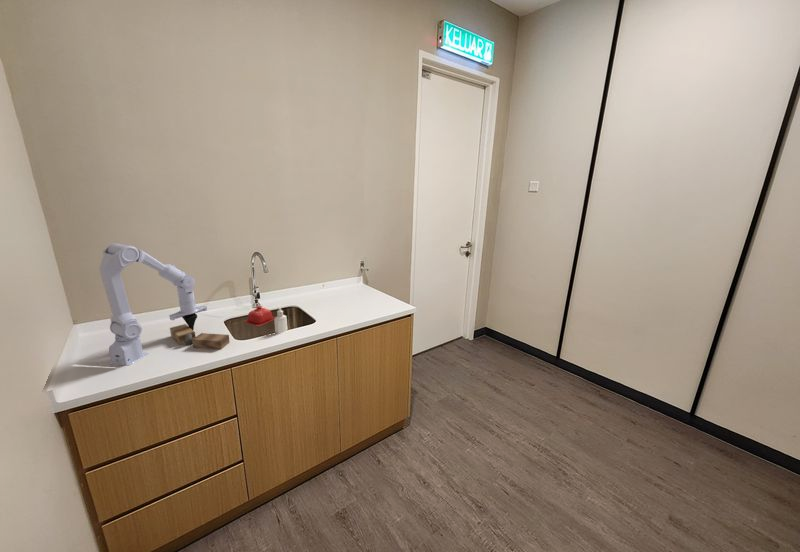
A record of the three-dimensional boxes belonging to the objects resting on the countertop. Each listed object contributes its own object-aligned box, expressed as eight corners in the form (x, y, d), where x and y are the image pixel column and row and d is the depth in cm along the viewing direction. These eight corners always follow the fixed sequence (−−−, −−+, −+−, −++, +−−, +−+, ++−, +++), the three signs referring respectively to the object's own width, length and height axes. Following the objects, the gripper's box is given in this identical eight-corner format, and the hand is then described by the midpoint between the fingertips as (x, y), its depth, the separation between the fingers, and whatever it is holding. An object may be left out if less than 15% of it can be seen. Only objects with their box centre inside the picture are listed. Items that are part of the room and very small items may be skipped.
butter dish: (242, 323, 163) (240, 307, 161) (262, 316, 173) (260, 300, 171) (258, 328, 158) (257, 311, 156) (277, 320, 168) (276, 304, 165)
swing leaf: (198, 342, 142) (197, 333, 140) (182, 347, 137) (180, 337, 136) (186, 332, 151) (185, 323, 150) (171, 336, 147) (169, 327, 146)
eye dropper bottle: (288, 333, 153) (287, 308, 150) (276, 335, 150) (274, 310, 147) (286, 329, 157) (285, 305, 154) (274, 332, 154) (272, 307, 151)
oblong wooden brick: (229, 343, 142) (228, 334, 141) (221, 350, 136) (220, 341, 135) (202, 341, 143) (201, 333, 142) (193, 348, 137) (192, 339, 136)
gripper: (199, 295, 153) (203, 322, 156) (164, 303, 141) (169, 333, 145) (207, 298, 149) (211, 326, 153) (172, 307, 137) (177, 337, 141)
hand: (191, 330), depth 149 cm, fingers closed
